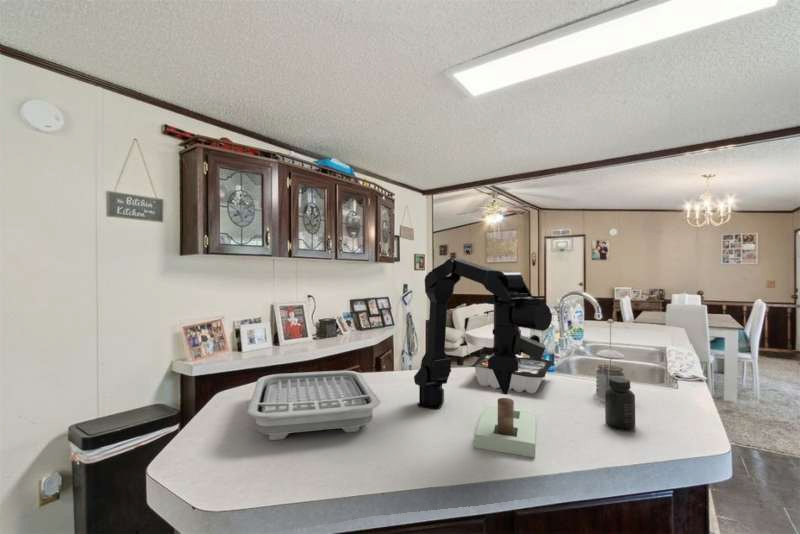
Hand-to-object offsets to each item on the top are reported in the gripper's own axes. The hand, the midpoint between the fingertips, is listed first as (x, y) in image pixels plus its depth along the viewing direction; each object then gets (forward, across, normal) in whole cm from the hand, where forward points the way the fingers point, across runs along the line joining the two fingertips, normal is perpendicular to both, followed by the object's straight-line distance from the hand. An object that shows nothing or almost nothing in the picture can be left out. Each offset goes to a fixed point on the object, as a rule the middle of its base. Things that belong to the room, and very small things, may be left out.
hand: (505, 391), depth 88 cm
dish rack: (+12, -1, +51) cm, 53 cm away
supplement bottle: (+12, +21, -27) cm, 36 cm away
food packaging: (+12, +50, +2) cm, 51 cm away
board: (+12, +6, 0) cm, 13 cm away
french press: (+12, +43, -28) cm, 53 cm away
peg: (+12, 0, 0) cm, 12 cm away
